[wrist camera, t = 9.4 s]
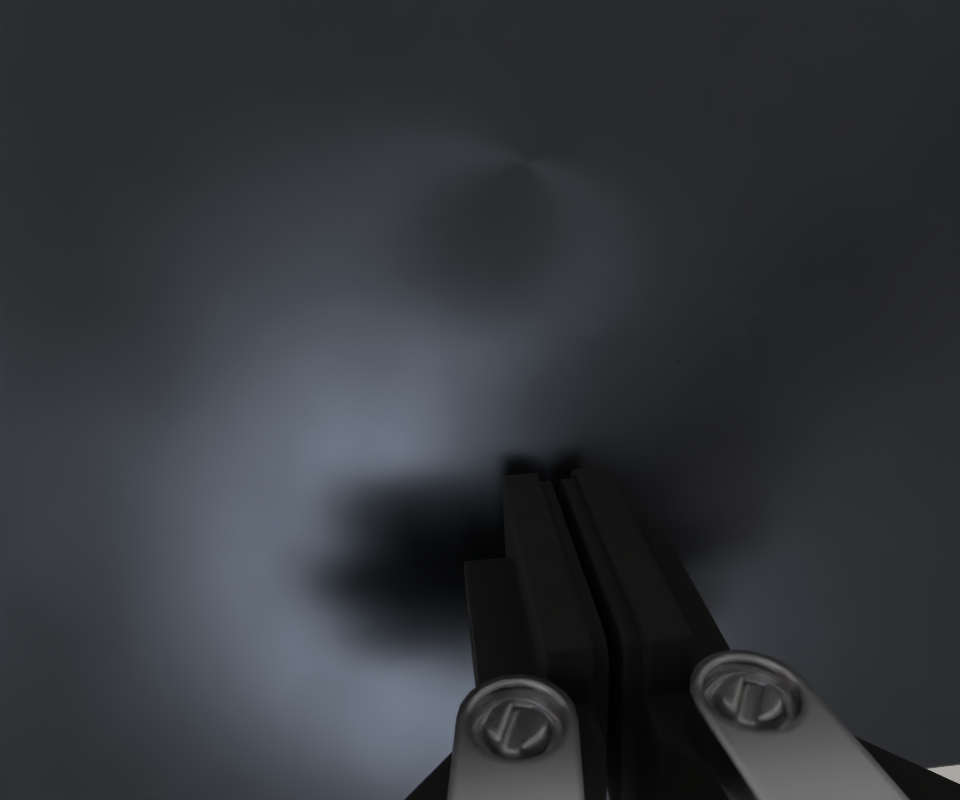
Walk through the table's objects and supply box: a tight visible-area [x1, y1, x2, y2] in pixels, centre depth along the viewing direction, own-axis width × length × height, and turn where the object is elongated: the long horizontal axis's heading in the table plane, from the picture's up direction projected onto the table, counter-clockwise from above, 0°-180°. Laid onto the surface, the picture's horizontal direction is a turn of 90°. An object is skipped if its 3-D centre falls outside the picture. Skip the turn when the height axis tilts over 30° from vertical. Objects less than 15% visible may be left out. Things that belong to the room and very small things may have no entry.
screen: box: [0, 0, 960, 800], centre depth 13 cm, size 22×30×1 cm
